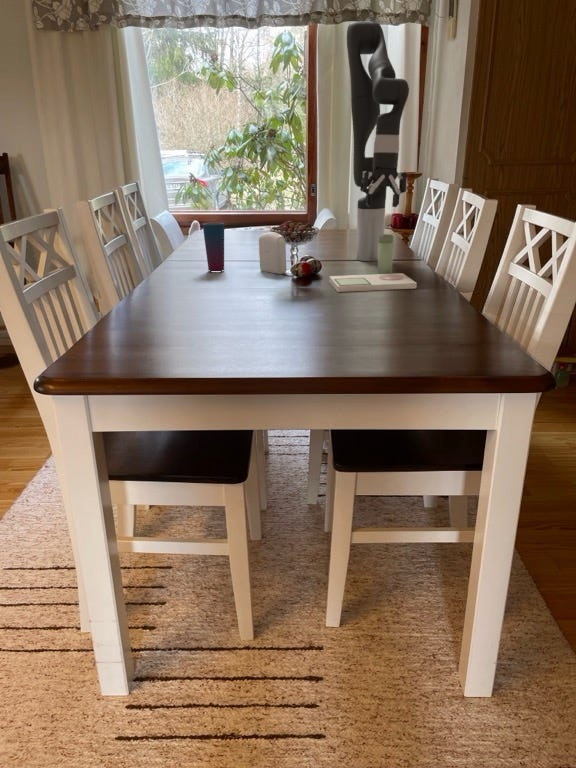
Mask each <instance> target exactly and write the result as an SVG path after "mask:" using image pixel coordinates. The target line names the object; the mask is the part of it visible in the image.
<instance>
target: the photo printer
mask: <svg viewBox="0 0 576 768" xmlns="http://www.w3.org/2000/svg"><path fill="white" fill-rule="evenodd" d="M286 245H287V244H286V239H285V237H284V236H283V235H281V234H280V233H277V232H275V231H274V232H273V231H269V232H264V233H262V234H260V236H259V238H258V251H259V268H260V271H263V272H267V273H273V274H276V275H283V274H286V272H287V252H286V251H287V249H286V248H287V246H286Z"/></svg>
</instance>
